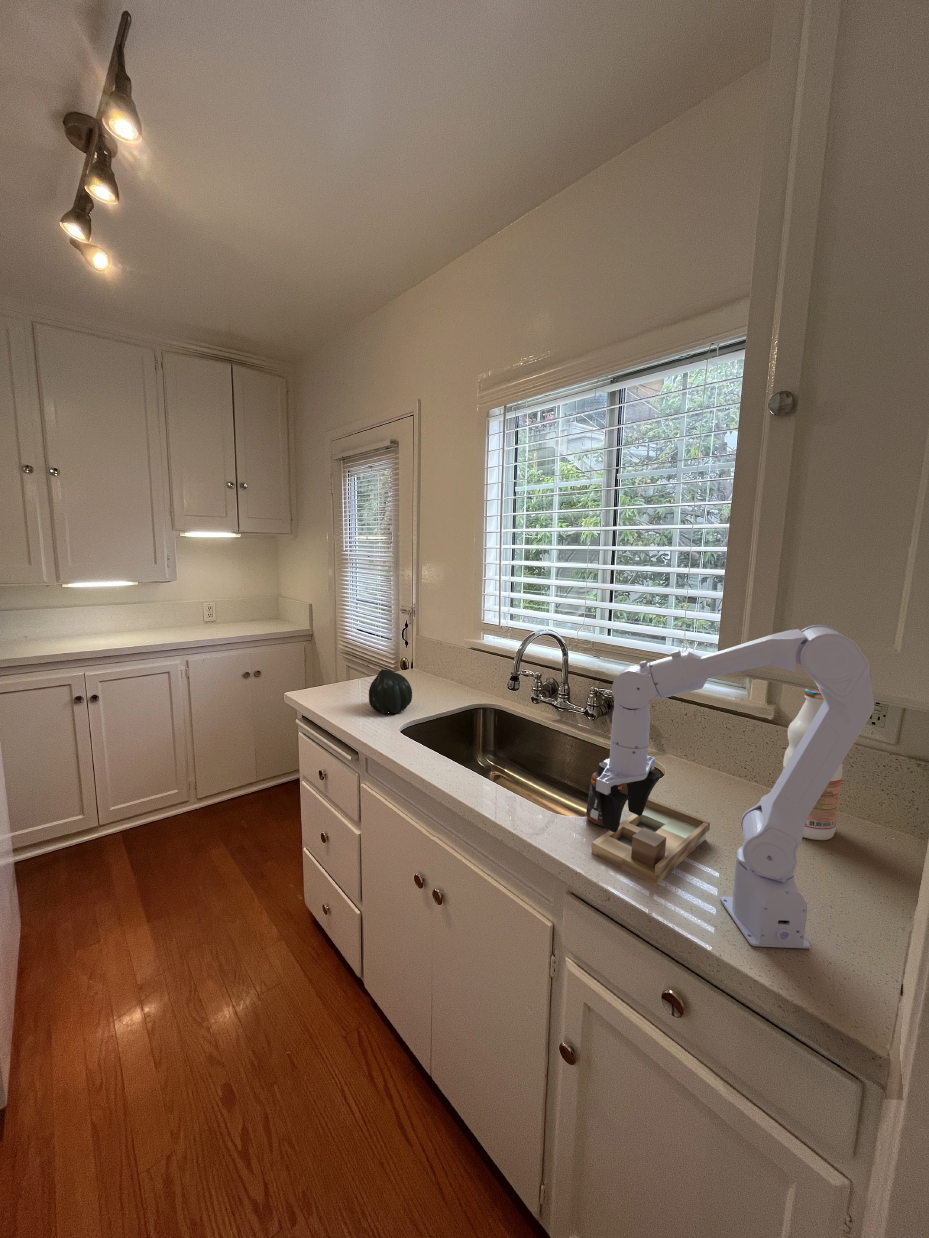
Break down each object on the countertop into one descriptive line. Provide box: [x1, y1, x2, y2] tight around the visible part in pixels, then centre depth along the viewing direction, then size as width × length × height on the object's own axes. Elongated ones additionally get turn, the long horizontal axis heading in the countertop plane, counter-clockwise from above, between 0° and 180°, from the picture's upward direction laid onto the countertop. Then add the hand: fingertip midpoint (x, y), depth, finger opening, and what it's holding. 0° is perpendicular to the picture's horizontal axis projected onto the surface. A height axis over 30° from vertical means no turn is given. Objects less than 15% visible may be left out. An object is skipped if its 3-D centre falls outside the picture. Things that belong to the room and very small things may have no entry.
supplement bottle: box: [585, 761, 623, 827], centre depth 99 cm, size 6×6×11 cm
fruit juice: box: [782, 688, 844, 841], centre depth 96 cm, size 9×9×28 cm
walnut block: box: [631, 828, 666, 869], centre depth 84 cm, size 4×4×4 cm
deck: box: [591, 797, 711, 887], centre depth 91 cm, size 20×13×4 cm, turn 133°
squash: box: [368, 668, 413, 714], centre depth 166 cm, size 14×15×15 cm
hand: (623, 820), depth 81 cm, fingers open, 7 cm apart
